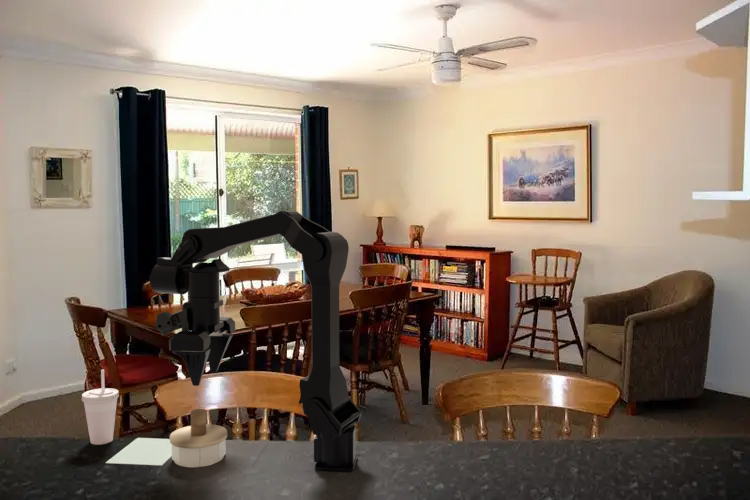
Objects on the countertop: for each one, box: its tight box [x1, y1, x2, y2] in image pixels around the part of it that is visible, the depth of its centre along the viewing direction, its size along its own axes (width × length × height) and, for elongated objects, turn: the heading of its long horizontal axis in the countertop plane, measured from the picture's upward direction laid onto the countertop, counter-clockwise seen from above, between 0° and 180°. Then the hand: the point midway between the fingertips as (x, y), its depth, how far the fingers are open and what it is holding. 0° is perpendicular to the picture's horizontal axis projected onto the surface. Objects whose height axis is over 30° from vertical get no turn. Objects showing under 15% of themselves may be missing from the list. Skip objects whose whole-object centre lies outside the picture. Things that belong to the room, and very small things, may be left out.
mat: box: [105, 437, 172, 467], centre depth 117 cm, size 10×12×1 cm
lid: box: [169, 408, 228, 448], centre depth 113 cm, size 10×10×5 cm
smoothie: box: [81, 369, 120, 446], centre depth 121 cm, size 6×6×14 cm
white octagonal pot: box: [171, 439, 227, 468], centre depth 114 cm, size 8×8×4 cm
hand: (205, 378), depth 122 cm, fingers open, 9 cm apart
